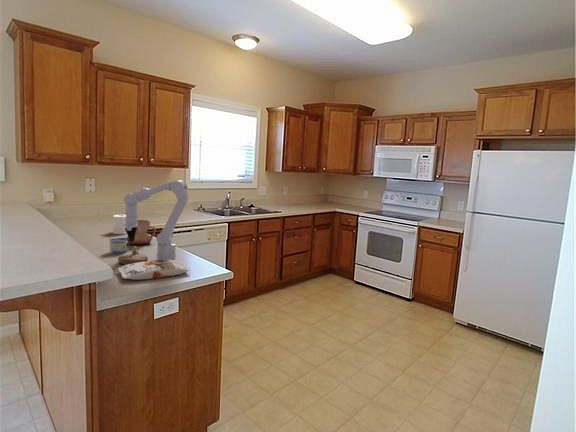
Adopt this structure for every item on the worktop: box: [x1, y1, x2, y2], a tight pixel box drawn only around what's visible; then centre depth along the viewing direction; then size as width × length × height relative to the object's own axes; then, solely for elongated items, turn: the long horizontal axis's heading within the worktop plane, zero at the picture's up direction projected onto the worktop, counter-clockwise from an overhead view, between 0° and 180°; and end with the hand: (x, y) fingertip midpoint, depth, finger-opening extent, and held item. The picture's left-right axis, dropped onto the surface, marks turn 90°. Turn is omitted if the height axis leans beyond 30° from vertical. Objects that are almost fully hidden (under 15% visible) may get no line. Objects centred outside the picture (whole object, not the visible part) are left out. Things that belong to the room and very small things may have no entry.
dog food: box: [117, 259, 191, 280], centre depth 168 cm, size 30×18×5 cm, turn 125°
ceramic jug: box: [125, 219, 157, 246], centre depth 220 cm, size 18×14×14 cm
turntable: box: [117, 246, 149, 265], centre depth 182 cm, size 14×14×6 cm
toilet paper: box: [112, 214, 128, 235], centre depth 245 cm, size 10×10×12 cm
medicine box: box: [109, 236, 127, 255], centre depth 198 cm, size 8×4×9 cm, turn 126°
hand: (131, 241), depth 188 cm, fingers closed
